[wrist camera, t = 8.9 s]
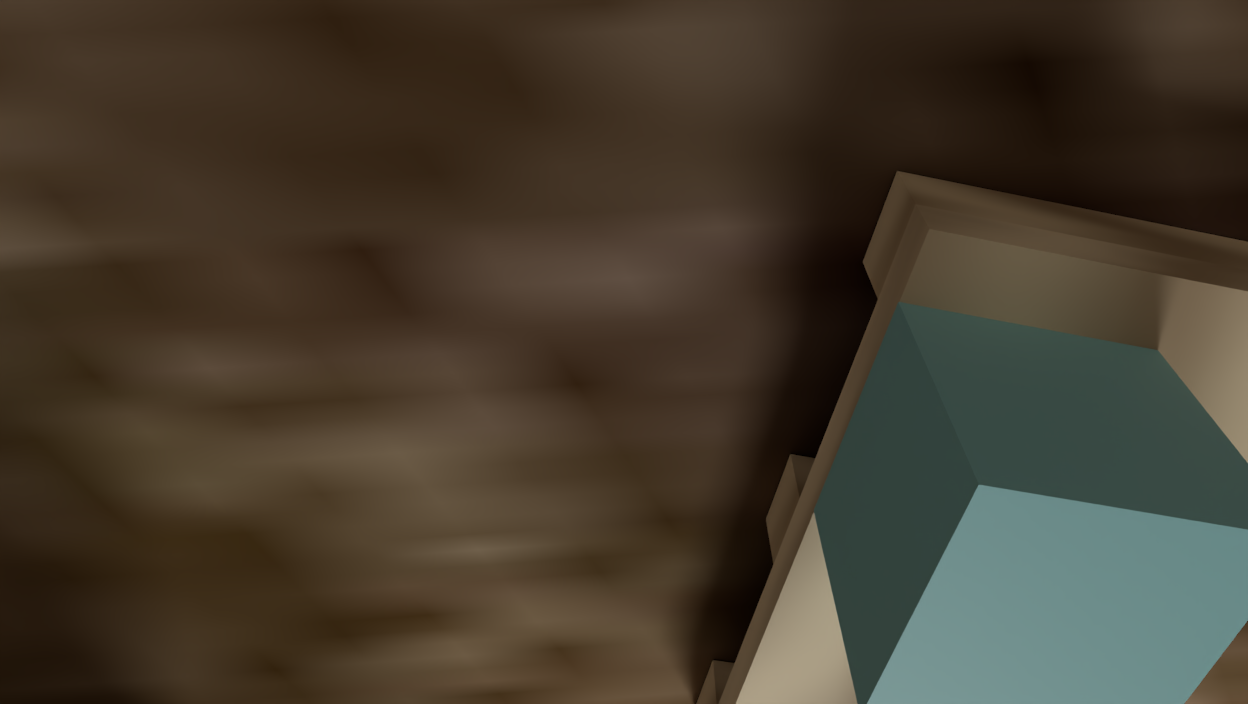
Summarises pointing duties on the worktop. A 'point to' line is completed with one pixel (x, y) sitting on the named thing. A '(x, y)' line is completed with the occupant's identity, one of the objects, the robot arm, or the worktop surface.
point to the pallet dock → (1006, 291)
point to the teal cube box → (1031, 521)
